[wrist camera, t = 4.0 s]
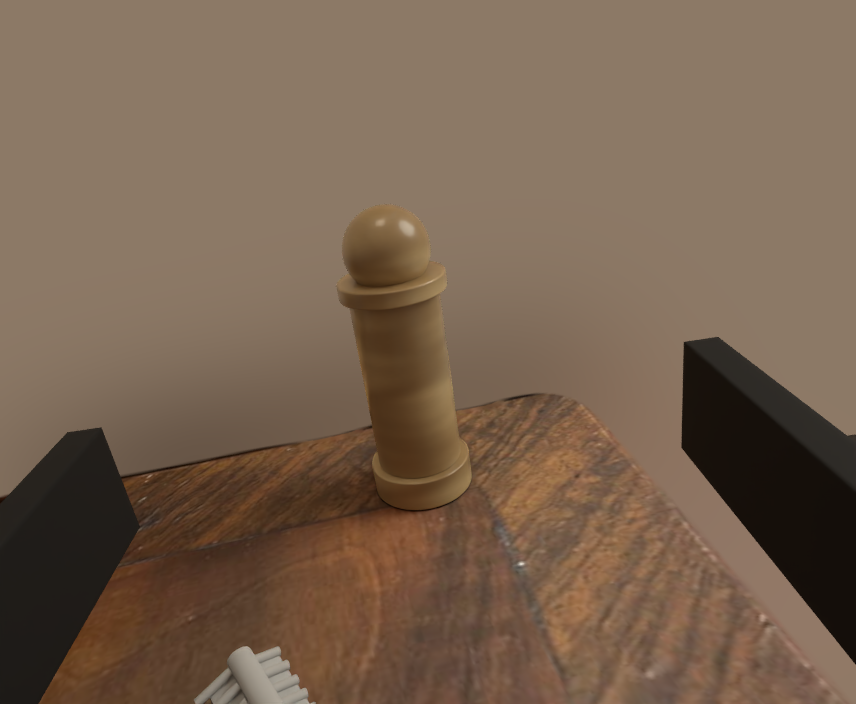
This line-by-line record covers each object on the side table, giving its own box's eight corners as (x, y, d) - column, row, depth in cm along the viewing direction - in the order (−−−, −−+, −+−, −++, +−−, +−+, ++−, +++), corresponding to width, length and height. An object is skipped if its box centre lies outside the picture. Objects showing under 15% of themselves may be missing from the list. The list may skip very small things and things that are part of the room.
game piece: (378, 518, 23) (319, 225, 19) (375, 462, 27) (324, 204, 23) (479, 500, 24) (443, 206, 19) (463, 447, 27) (429, 188, 23)
